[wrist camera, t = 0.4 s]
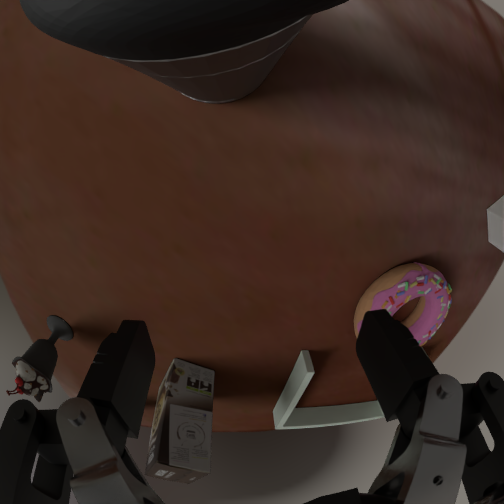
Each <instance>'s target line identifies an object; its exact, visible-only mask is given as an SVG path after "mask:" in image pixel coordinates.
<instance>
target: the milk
mask: <svg viewBox="0 0 504 504" xmlns="http://www.w3.org/2000/svg"><path fill="white" fill-rule="evenodd" d="M487 220H488V241H489V242H490V243H491V244H493V245H494V246H495V247H497V248H498V249H499V250H501V251H502V252H503V253H504V195H503V196H502V197H501V198H500V199H499V200H497V201H496V202H495V203H494V204H493V205H491V206H490V207H489V208H488V209H487Z"/></svg>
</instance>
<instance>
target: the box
mask: <svg viewBox="0 0 504 504" xmlns="http://www.w3.org/2000/svg"><path fill="white" fill-rule="evenodd" d="M422 349H423V348H422ZM423 350H424V349H423ZM424 352H425V351H424ZM425 353H426V352H425ZM427 356H428V355H427ZM314 373H315V372H314V368H313V365H312V361H311V358H310V354H309V351H308V350H301V353H300V355H299V357H298V360H297V362H296V364H295V366H294V368H293V371H292V373H291V375H290V377H289V379H288V381H287V383H286V385H285V388H284V390H283V392H282V394H281V396H280V398H279V400H278V402H277V404H276V406H275V408H274V410H273V415H274V423H275V429H295V428H311V427H323V426H333V425H340V424H348V423H354V422H361V421H367V420H373V419H378V418H383V417H385V416H384V414H383V411H382V409H381V407H380V404H379V402H378V400H377V401H370V402H363V403H355V404H347V405H337V406H324V407H307V408H295V406H296V404H297V403H298V401H299V399H300V397H301V396H302V394H303V392H304V391H305V389H306V387H307V385H308V384H309V382H310V380H311V378H312V376H313V375H314Z"/></svg>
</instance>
